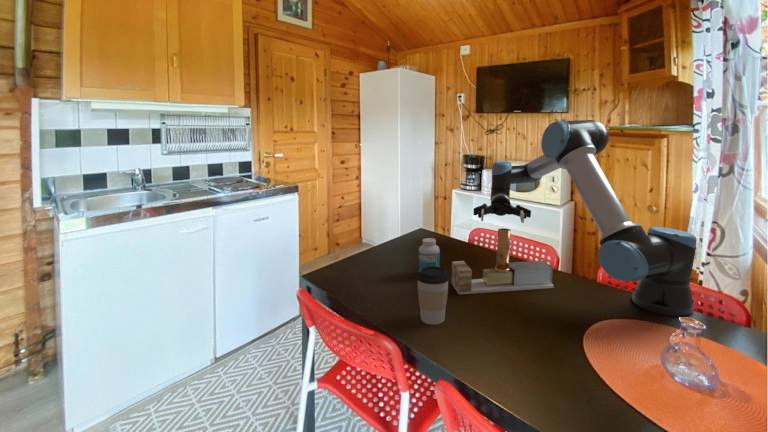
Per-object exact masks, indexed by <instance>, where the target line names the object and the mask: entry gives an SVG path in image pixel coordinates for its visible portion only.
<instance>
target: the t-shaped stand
mask: <svg viewBox="0 0 768 432" xmlns="http://www.w3.org/2000/svg"><path fill="white" fill-rule="evenodd" d="M511 235H512V234H511V229H509V228H498V229H497V240H496V241H497V242H496V243H497V244H496V265H495V266H494V268H484V269H482V279H483V282H484V283H485V284H486V285H495V284H510V283H513V282H514V271H513V270H512V269H511V268H510V267H509V263H510V253H511V252H510V251H511V250H510V247H511Z"/></svg>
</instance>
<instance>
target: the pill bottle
mask: <svg viewBox="0 0 768 432" xmlns="http://www.w3.org/2000/svg"><path fill="white" fill-rule="evenodd" d="M436 242H437V240H436V239H435V238H432V237H428V238H427V237H426V238H423V239H422V244H421V245H420V246H419V248H418V273H419V272H420V271H421V270H422V269H423V268H425V267H431V266H434V267H440V266H441V265H440V262H441V261H440V257H441V256H440V255H441V254H440V253H441V251H440V247H439V246H438V245H437V244H436ZM440 268H441V267H440Z"/></svg>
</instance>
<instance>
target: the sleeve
mask: <svg viewBox="0 0 768 432" xmlns="http://www.w3.org/2000/svg"><path fill="white" fill-rule="evenodd" d="M509 267H510V268H511V269H512V270H513V271H514V282H513V285H514V286H526V285H540V284H553V275H554V267H553V266H552V265H550V264H549V263H547V262H546V261H545V260H532V261H531V260H530V261H529V260H527V261H517V262H516V261H515V262H509Z"/></svg>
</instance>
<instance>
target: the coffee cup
mask: <svg viewBox="0 0 768 432" xmlns="http://www.w3.org/2000/svg"><path fill="white" fill-rule="evenodd" d="M416 280H417V295H418V306H419V312H420V321H421V322H423V323H424V324H426V325H440V324H441V323H444V322H445V319H446V308H447V300H448V292H449V280H450V277H449V273H448V272H447V271H446V270H445V269H444V268H443V267H434V266H431V267H425V268H423V269H422V270H421V271H420V272H419V271H418V273H417V275H416Z"/></svg>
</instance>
